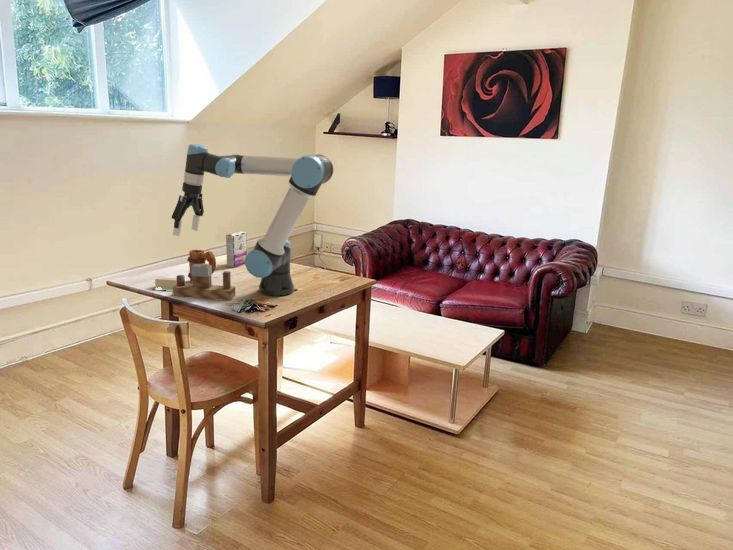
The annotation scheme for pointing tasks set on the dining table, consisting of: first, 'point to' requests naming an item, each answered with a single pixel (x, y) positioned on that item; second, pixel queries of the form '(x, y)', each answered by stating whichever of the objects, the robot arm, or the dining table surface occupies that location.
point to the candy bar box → (236, 249)
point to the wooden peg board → (204, 288)
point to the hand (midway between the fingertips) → (185, 232)
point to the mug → (201, 259)
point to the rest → (166, 283)
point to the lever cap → (201, 270)
